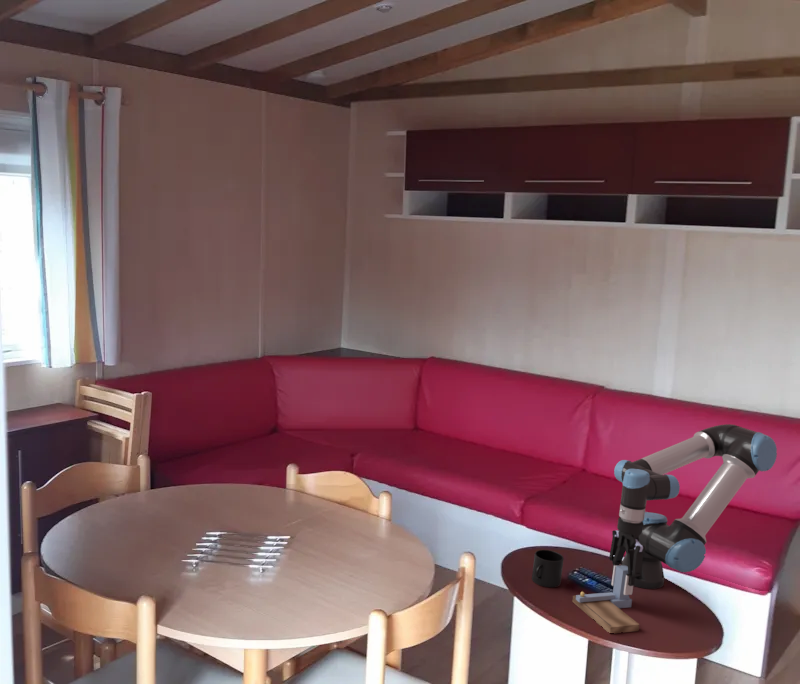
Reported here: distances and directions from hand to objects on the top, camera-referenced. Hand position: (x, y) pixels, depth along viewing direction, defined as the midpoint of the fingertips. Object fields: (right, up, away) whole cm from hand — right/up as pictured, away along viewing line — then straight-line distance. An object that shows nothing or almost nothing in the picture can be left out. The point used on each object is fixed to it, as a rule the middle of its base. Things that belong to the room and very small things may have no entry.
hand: (621, 589), depth 243 cm
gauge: (-7, -4, -2) cm, 8 cm away
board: (-8, -5, -8) cm, 12 cm away
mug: (-22, -2, +12) cm, 25 cm away
